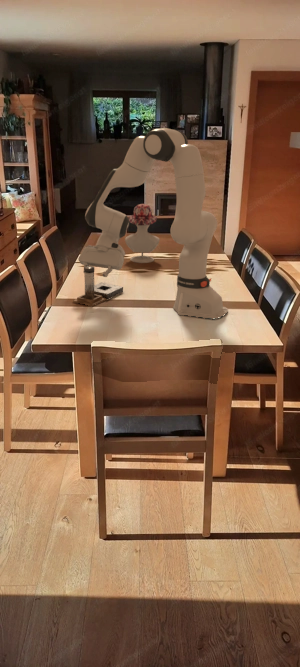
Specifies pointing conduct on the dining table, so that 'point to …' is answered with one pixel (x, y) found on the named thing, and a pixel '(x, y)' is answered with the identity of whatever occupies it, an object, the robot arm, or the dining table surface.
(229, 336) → the dining table surface
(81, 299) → the square wooden tray
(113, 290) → the socket block
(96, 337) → the dining table surface
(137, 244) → the beige curvy piece
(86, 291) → the lidded glass canister
